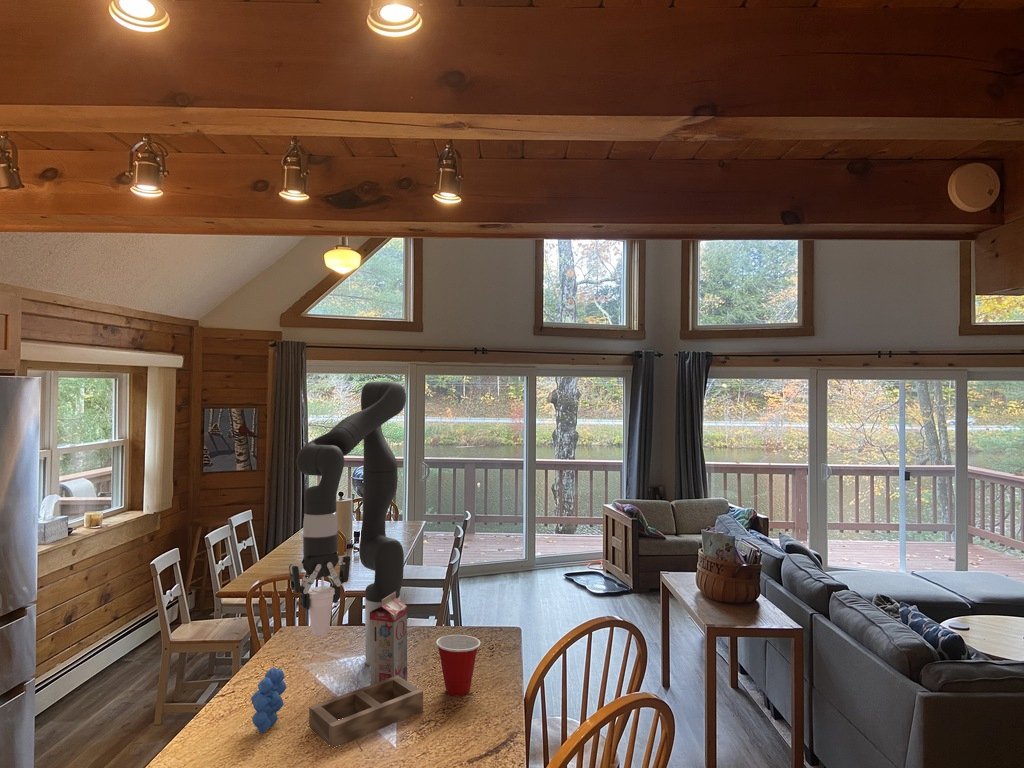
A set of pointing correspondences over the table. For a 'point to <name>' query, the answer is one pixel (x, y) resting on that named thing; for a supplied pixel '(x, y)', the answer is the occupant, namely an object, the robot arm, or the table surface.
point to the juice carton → (388, 640)
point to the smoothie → (320, 608)
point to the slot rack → (365, 710)
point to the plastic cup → (457, 662)
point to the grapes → (268, 699)
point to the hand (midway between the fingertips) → (320, 605)
